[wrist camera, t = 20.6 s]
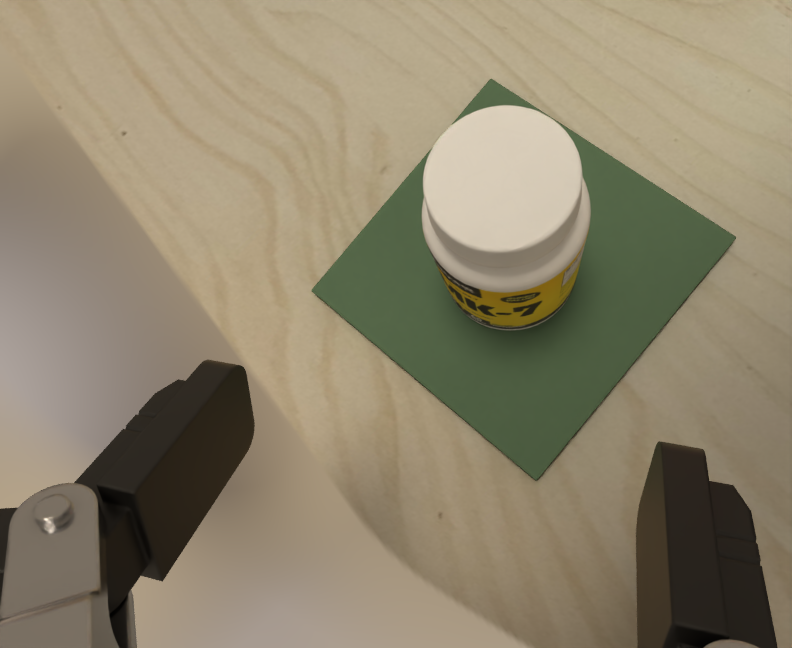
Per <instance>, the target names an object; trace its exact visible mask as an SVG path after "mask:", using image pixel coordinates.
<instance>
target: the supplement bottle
mask: <svg viewBox="0 0 792 648" xmlns="http://www.w3.org/2000/svg"><path fill="white" fill-rule="evenodd" d="M423 193H424V199H423V205H422V226H423V233H424V237H425V240H426V243H427V245H428V248H429V250H430V253H431V254H432V256H433V259H434V261H435V263H436V265H437V267H438V269H439V272H440V274H441V276H442V278H443V280H444V282H445V284H446V287H447V289H448V291H449V293H450V295H451V297H452V298H453V300H454V302H455V303H456V304H457V306H458V307H459V308H460V309H461V310H462V311H463V312H464V313H465V314H466V315H467V316H468V317H469V318H471V319H472V320H474V321H476V322H477V323H479V324H481V325H484V326H486V327H490V328H494V329H499V330H521V329H526V328H530V327H533V326H536V325H538V324H540V323H542V322H544V321H546V320H547V319H549V318H550V317H552V316H553V315H554V314H555V313H556V312H557V311H559V310H560V308H561V307H562V306H563V305H564V303H565V302H566V301H567V299H568V298H569V296H570V294H571V292H572V290H573V287H574V284H575V281H576V277H577V273H578V269H579V265H580V261H581V258H582V254H583V250H584V246H585V242H586V238H587V235H588V231H589V226H590V217H591V207H590V198H589V193H588V190H587V186H586V183H585V181H584V179H583V176H582V165H581V160H580V156H579V153H578V150H577V148H576V146H575V144H574V142H573V140H572V139H571V138H570V136H569V135H568V133H567V132H566V131H565V130H564V129H563V128H562V127H561V126H560V125H559V124H558V123H557V122H556V121H554V120H553V119H551V118H550V117H548V116H546V115H544V114H543V113H541V112H539V111H536V110H533V109H530V108H525V107H520V106H511V105H501V106H493V107H488V108H484V109H480V110H478V111H475V112H473V113H471V114H469V115H466V116H464V117H463V118H461V119H459V120H458V121H456V122H455V123H454V124H452V125H451V126H450V127H449V128H448V129H447V130H446V131H445V132H444V133H443V134H442V135H441V136H440V137H439V139H438V140H437V141H436V143H435V144H434V146H433V148H432V150H431V152H430V154H429V156H428V158H427V161H426V165H425V168H424V174H423Z"/></svg>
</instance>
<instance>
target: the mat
mask: <svg viewBox="0 0 792 648" xmlns="http://www.w3.org/2000/svg"><path fill="white" fill-rule="evenodd" d="M501 105H511V106H520V107H525V108H530V109H533V110H536V111H539V112H541V113H543V114H544V115H546V116H548V115H547V114H545V113H544V112H542V111H540V110H539V109H537V108H536V107H534V106H533V105H531V104H530V103H528V102H527V101H525V100H523V99H522V98H520V97H519V96H517V95H516V94H514V93H513V92H511V91H510V90H508V89H506V88H505V87H503V86H502V85H500V84H499V83H497V82H496V81H494V80H493V79H490V80H489V81H488V82H487V84H486V85H485V86H484V87H483V88H482V90H481V91H480V92H479V93H478V94H477V95H476V97H475V98H474V99H473V100H472V101H471V102H470V104H469V105H468V106H467V107H466V108H465V110H464V111H463V112H462V113H461V114H460V115H459V117H458V118H457V119H456V120H455V121H454V123H455V122H456V121H458V120H459V119H461V118H463V117H464V116H466V115H469V114H471V113H473V112H475V111H478V110H480V109H484V108H488V107H493V106H501ZM548 117H550V116H548ZM550 118H551V117H550ZM551 119H553V118H551ZM553 120H554V119H553ZM554 121H556V120H554ZM556 122H557V121H556ZM454 123H453V124H454ZM557 123H558V124H559V125H560V126H561V127H562V128H563V129H564V130H565V131H566V132H567V133H568V135H569V136H570V138H571V139H572V140H573V142H574V144H575V146H576V148H577V150H578V153H579V156H580V160H581V165H582V176H583V179H584V181H585V183H586V186H587V190H588V193H589V198H590V207H591V217H590V226H589V231H588V235H587V238H586V242H585V246H584V250H583V254H582V258H581V261H580V265H579V269H578V273H577V277H576V281H575V284H574V287H573V290H572V292H571V294H570V296H569V298H568V299H567V301H566V302H565V303H564V305H563V306H562V307H561V308H560V310H559V311H557V312H556V313H555V314H554V315H553V316H552V317H550V318H549V319H547V320H546V321H544V322H542V323H540V324H538V325H536V326H533V327H530V328H526V329H521V330H499V329H494V328H490V327H486V326H484V325H481V324H479V323H477V322H476V321H474V320H472V319H471V318H469V317H468V316H467V315H466V314H465V313H464V312H463V311H462V310H461V309H460V308H459V307H458V306H457V304H456V303H455V302H454V300H453V298H452V297H451V295H450V293H449V291H448V289H447V287H446V284H445V282H444V280H443V278H442V276H441V274H440V272H439V269H438V267H437V265H436V263H435V261H434V259H433V256H432V254H431V253H430V250H429V248H428V245H427V243H426V240H425V237H424V233H423V226H422V205H423V199H424V193H423V174H424V168H425V165H426V161H427V158H428V156H429V154H430V152H431V150H432V149H431V150H430V151H429V152H428V153H427V154H426V156H425V157H424V158H423V159H422V160H421V162H420V163H419V164H418V165H417V166H416V167H415V169H414V170H413V171H412V172H411V173H410V175H409V176H408V177H407V178H406V179H405V180H404V182H403V183H402V184H401V185H400V186H399V188H398V189H397V190H396V191H395V192H394V193H393V195H392V196H391V197H390V198H389V199H388V201H387V202H386V203H385V204H384V205H383V206H382V208H381V209H380V210H379V211H378V212H377V213H376V215H375V216H374V217H373V218H372V219H371V221H370V222H369V223H368V224H367V225H366V226H365V228H364V229H363V230H362V231H361V232H360V234H359V235H358V236H357V237H356V238H355V239H354V241H353V242H352V243H351V244H350V245H349V247H348V248H347V249H346V250H345V251H344V252H343V254H342V255H341V256H340V257H339V258H338V260H337V261H336V262H335V263H334V264H333V265H332V267H331V268H330V269H329V270H328V271H327V273H326V274H325V275H324V276H323V277H322V278H321V280H320V281H319V282H318V283H317V284H316V286H315V287H314V288H313V289H312V292H313V293H314V294H316V295H317V296H318V297H319V298H320V299H322V300H323V301H324V302H325V303H326V304H327V305H329V306H330V307H331V308H332V309H333V310H335V311H336V312H337V313H338V314H339V315H340V316H342V317H343V318H344V319H345V320H346V321H348V322H349V323H350V324H351V325H352V326H353V327H355V328H356V329H357V330H358V331H359V332H361V333H362V334H363V335H364V336H365V337H367V338H368V339H369V340H370V341H371V342H372V343H374V344H375V345H376V346H377V347H378V348H380V349H381V350H382V351H383V352H384V353H385V354H387V355H388V356H389V357H390V358H391V359H393V360H394V361H395V362H396V363H397V364H398V365H400V366H401V367H402V368H403V369H404V370H406V371H407V372H408V373H409V374H410V375H411V376H413V377H414V378H415V379H416V380H417V381H419V382H420V383H421V384H422V385H423V386H424V387H426V388H427V389H428V390H429V391H430V392H432V393H433V394H434V395H435V396H436V397H437V398H439V399H440V400H441V401H442V402H443V403H445V404H446V405H447V406H448V407H449V408H450V409H452V410H453V411H454V412H455V413H456V414H458V415H459V416H460V417H461V418H462V419H464V420H465V421H466V422H467V423H468V424H469V425H471V426H472V427H473V428H474V429H475V430H477V431H478V432H479V433H480V434H481V435H482V436H484V437H485V438H486V439H487V440H488V441H490V442H491V443H492V444H493V445H494V446H495V447H497V448H498V449H499V450H500V451H501V452H503V453H504V454H505V455H506V456H507V457H508V458H510V459H511V460H512V461H513V462H514V463H516V464H517V465H518V466H519V467H520V468H521V469H523V470H524V471H525V472H526V473H527V474H529V475H530V476H531V477H532V478H533V479H534V480H538V478H539V477H540V476H541V475H542V474H543V472H544V471H545V470H546V469H547V467H548V466H549V465H550V464H551V463H552V461H553V460H554V459H555V458H556V457H557V455H558V454H559V453H560V452H561V450H562V449H563V448H564V447H565V446H566V444H567V443H568V442H569V441H570V440H571V438H572V437H573V436H574V435H575V433H576V432H577V431H578V430H579V429H580V427H581V426H582V425H583V424H584V423H585V421H586V420H587V419H588V418H589V416H590V415H591V414H592V413H593V412H594V410H595V409H596V408H597V407H598V406H599V404H600V403H601V402H602V401H603V399H604V398H605V397H606V396H607V395H608V393H609V392H610V391H611V390H612V388H613V387H614V386H615V385H616V384H617V382H618V381H619V380H620V379H621V378H622V376H623V375H624V374H625V373H626V371H627V370H628V369H629V368H630V367H631V365H632V364H633V363H634V362H635V361H636V359H637V358H638V357H639V356H640V354H641V353H642V352H643V351H644V350H645V348H646V347H647V346H648V345H649V344H650V342H651V341H652V340H653V339H654V337H655V336H656V335H657V334H658V333H659V331H660V330H661V329H662V328H663V326H664V325H665V324H666V323H667V322H668V320H669V319H670V318H671V317H672V316H673V314H674V313H675V312H676V311H677V309H678V308H679V307H680V306H681V305H682V303H683V302H684V301H685V300H686V299H687V297H688V296H689V295H690V294H691V292H692V291H693V290H694V289H695V288H696V286H697V285H698V284H699V283H700V282H701V280H702V279H703V278H704V277H705V275H706V274H707V273H708V272H709V271H710V269H711V268H712V267H713V266H714V264H715V263H716V262H717V261H718V260H719V258H720V257H721V256H722V255H723V254H724V252H725V251H726V250H727V249H728V247H729V246H730V245H731V244H732V243H733V241H734V240H735V239H736V237H735V236H734V235H732V234H731V233H729V232H727V231H726V230H724V229H723V228H721V227H720V226H718V225H717V224H715V223H714V222H712V221H710V220H709V219H707V218H706V217H704V216H703V215H701V214H700V213H698V212H697V211H695V210H693V209H692V208H690V207H689V206H687V205H686V204H684V203H683V202H681V201H680V200H678V199H676V198H675V197H673V196H672V195H670V194H669V193H667V192H666V191H664V190H663V189H661V188H659V187H658V186H656V185H655V184H653V183H652V182H650V181H649V180H647V179H646V178H644V177H642V176H641V175H639V174H638V173H636V172H635V171H633V170H632V169H630V168H629V167H627V166H625V165H624V164H622V163H621V162H619V161H618V160H616V159H615V158H613V157H612V156H610V155H608V154H607V153H605V152H604V151H602V150H601V149H599V148H598V147H596V146H595V145H593V144H591V143H590V142H588V141H587V140H585V139H584V138H582V137H581V136H579V135H578V134H576V133H574V132H573V131H571V130H570V129H568V128H567V127H565V126H564V125H562V124H561V123H559V122H557ZM432 148H433V147H432Z"/></svg>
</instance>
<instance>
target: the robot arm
mask: <svg viewBox="0 0 792 648" xmlns="http://www.w3.org/2000/svg"><path fill="white" fill-rule="evenodd" d="M253 435H254V417H253V411H252V405H251V399H250V393H249V387H248V381H247V375H246V371H245V369H244V367H242V366H240V365H235V364H229V363H224V362H218V361H212V360H206V361H203V362H202V363H201V364H200V365H199V366H198V367H197V369H196V370H195V371H194V372H193V373H192V374H191V376H190V377H189V378H188V379H187V380H186V381H183V380H177V381H175V382H173V383H172V384H170V385H168V386H167V387H165V388H163V389H162V390H160V391H158V392H157V393H155V394H154V395H153V397H152V398H151V399H150V400H149V401H148V402H147V403H146V404H145V406H144V407H142V409H141V410H140V411H139V415H135V416H134V417H133V419H132V420H131V421H130V422H129V423H128V424H127V425H126V429H123V430H122V431H121V432H120V433H119V434H118V435H117V436H116V437H115V438H114V440H113V441H112V442H111V443H110V444H109V445H108V446H107V447H106V449H104V451H103V452H102V453H101V454H100V455H99V456H98V457H97V458H96V460H94V462H93V463H92V464H91V465H90V466H89V467H88V468H87V469H86V470H85V472H84V473H83V474H82V475H81V476H80V477H79V478H78V479H77V480H76V481H75V482H74V483H65V484H59V485H54V486H51V487H48V488H46V489H43V490H41V491H39V492H37V493H36V494H34V495H32V496H31V497H30V498H28V499H27V500H26V501H24V502H23V503H22V504H21V505H20V506H19V507H18V508H5V509H0V648H137V643H136V628H135V614H134V601H133V594H132V591H131V589H132V587H133V586H134V584H135V583H136V582H137V580H138V578H139V577H140V576H144V577H148V578H152V579H156V580H159V581H163V580H164V578H165V577H166V575H167V574H168V572H169V570H170V569H171V567H172V566H173V564H174V563H175V561H176V560H177V558H178V557H179V555H180V554H181V552H182V551H183V549H184V548H185V546H186V545H187V543H188V542H189V540H190V539H191V537H192V536H193V534H194V532H195V531H196V529H197V528H198V526H199V525H200V523H201V522H202V520H203V519H204V517H205V516H206V514H207V513H208V511H209V510H210V508H211V506H212V505H213V504H214V502H215V500H216V499H217V497H218V496H219V494H220V493H221V491H222V490H223V488H224V487H225V485H226V484H227V482H228V480H229V479H230V478H231V476H232V474H233V473H234V471H235V470H236V468H237V467H238V465H239V464H240V462H241V461H242V459H243V458H244V456H245V454H246V453H247V451H248V450H249V448H250V445H251V442H252V439H253ZM760 561H761V560H760V555H759V550H758V544H757V543H756V534H755V529H754V524H753V519H752V514H751V510H750V509H749V508H748V506H747V505H746V503H745V502H744V500H743V499H742V497H741V496H740V495H739V493H738V492H737V490H736V489H735V487H734V486H733V485H729V484H723V483H718V482H713V481H709V476H708V469H707V462H706V455H705V452H704V450H703V449H699V448H693V447H688V446H682V445H676V444H671V443H665V442H660V441H659V442H658V443H657V445H656V448H655V451H654V454H653V458H652V461H651V465H650V468H649V472H648V475H647V479H646V482H645V486H644V489H643V493H642V496H641V500H640V504H639V510H638V517H637V527H636V562H637V636H638V648H777V642H776V637H775V632H774V627H773V622H772V617H771V611H770V606H769V601H768V596H767V591H766V586H765V581H764V575H763V570H762V566H760Z"/></svg>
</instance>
